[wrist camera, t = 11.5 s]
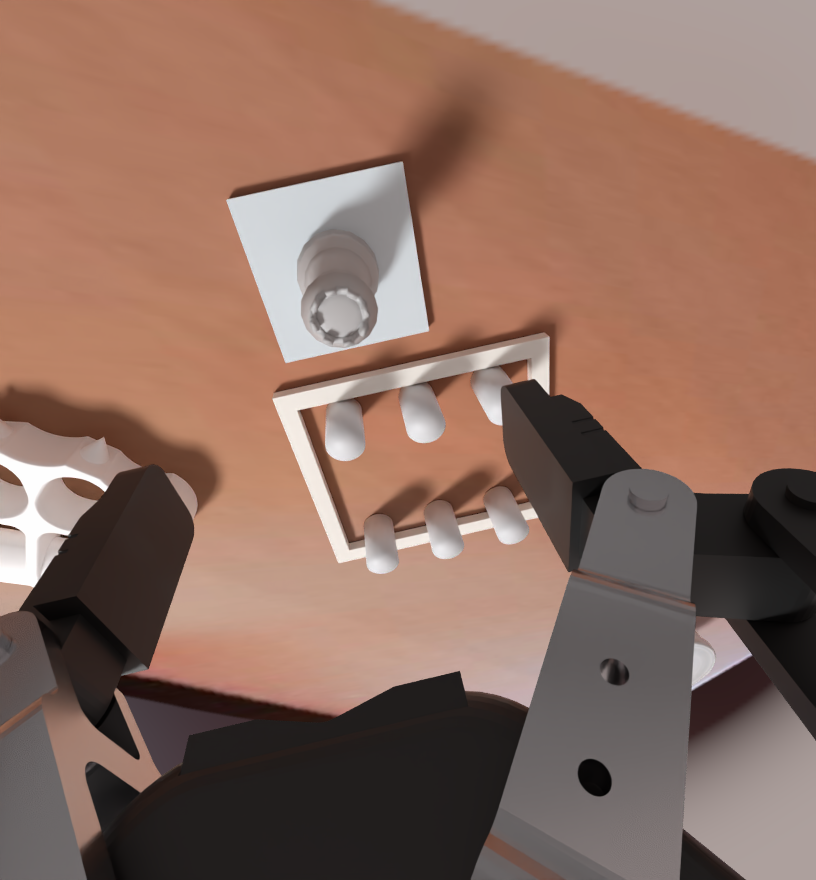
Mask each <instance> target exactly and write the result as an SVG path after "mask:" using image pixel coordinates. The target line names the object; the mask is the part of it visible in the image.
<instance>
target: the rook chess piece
mask: <svg viewBox="0 0 816 880" xmlns="http://www.w3.org/2000/svg"><path fill="white" fill-rule="evenodd" d="M378 280H379V268H378V264H377V261H376V257H375V254H374V252H373V251H372V250H371V248H370V247H369V246H368V244H367V243H366V242H365V240H363V239H362V238H360V237H358V236H357V235H355V234H353V233H352V232H350V231H344V230H337V229H331V230H327V231H324V232H321V233H317V234H316V235H315V236H313V237H312V238H311V239H310V240H309V241H308V242H307V243H305V244H304V246H303V248H302V251H301V253H300V255H299V257H298V259H297V282H298V284H299V287H300V290H301V292H302V295H303V297H302V300H301V317H302V319H303V322H304V324H305V327H306V329H307V330H308V331H309V332H310V334H311V335H312V336H313V337H314V338H315V339H316V340H317V341H319V342H322V343H324V344H326V345H328V346H330V347H339V348H347V347H350V346H354V345H357V344H359V343H360V342H362V341H363V340H364V339H365V338H367V337H368V336H369V335H370V334H371V332H372V330H373V328H374V326H375V325H376V323H377V314H378V306H377V303H376V299H375V294H376V292H377V289H378Z"/></svg>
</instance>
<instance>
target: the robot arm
mask: <svg viewBox="0 0 816 880" xmlns="http://www.w3.org/2000/svg"><path fill="white" fill-rule="evenodd" d="M501 410H502V426H503V441H504V448H505V452H506V456H507V459H508V462H509V464H510V466H511V468H512V470H513V472H514V474H515V476H516V477H517V479H518V481H519V483H520V485H521V487H522V488H523V490H524V492H525V494H526V496H527V498H528V499H529V501H530V503H531V505H532V507H533V509H534V510H535V512H536V514H537V516H538V518H539V520H540V521H541V523H542V525H543V527H544V529H545V531H546V532H547V534H548V536H549V538H550V540H551V541H552V543H553V545H554V547H555V549H556V551H557V552H558V554H559V556H560V558H561V560H562V562H563V563H564V565H565V567H566V569H567V571H568V572H571V571H572V573H571V575H570V578H569V581H568V584H567V587H566V590H565V593H564V597H563V600H562V603H561V606H560V610H559V613H558V616H557V619H556V623H555V626H554V629H553V632H552V636H551V639H550V642H549V645H548V649H547V652H546V655H545V658H544V662H543V665H542V668H541V671H540V675H539V678H538V681H537V684H536V688H535V691H534V694H533V698H532V701H531V704H530V707H529V708H528V707H526V706H524V705H522V704H520V703H518V702H515V701H513V700H510V699H507V698H504V697H501V696H498V695H494V694H489V693H483V692H474V691H465V690H464V686H463V682H462V678H461V674H460V671H458V672H454V673H449V674H445V675H441V676H437V677H433V678H428V679H424V680H420V681H416V682H412V683H407V684H403V685H399V686H395V687H392V688H391V689H389V690H387V691H385V692H383V693H381V694H379V695H377V696H375V697H374V698H372V699H370V700H368V701H366V702H364V703H362V704H360V705H359V706H357V707H355V708H353V709H351V710H349V711H347V712H345V713H343V714H342V715H340V716H338V717H336V718H334V719H332V720H330V721H327V722H323V723H311V722H292V721H274V720H252V721H248V722H244V723H240V724H235V725H231V726H227V727H223V728H219V729H214V730H210V731H206V732H202V733H198V734H193V735H190V736H189V738H188V742H187V747H186V751H185V755H184V759H183V762H182V763H181V764H179V765H177V766H176V767H174V768H173V769H171V770H170V771H168V772H166V773H165V774H163V775H162V776H161V775H160V773H159V772H158V770H157V769H156V767H155V765H154V763H153V761H152V758H151V756H150V754H149V752H148V749H147V747H146V745H145V743H144V740H143V738H142V736H141V734H140V731H139V729H138V727H137V724H136V722H135V720H134V718H133V715H132V713H131V711H130V709H129V706H128V704H127V702H126V700H125V697H124V696H123V694H122V693H121V692H120V691H119V690H117V689H116V687H117V684H118V682H119V679H120V677H121V676H122V675H126V674H130V673H135V672H139V671H143V670H147V669H149V666H150V663H151V660H152V657H153V654H154V651H155V649H156V646H157V643H158V640H159V637H160V634H161V631H162V628H163V625H164V622H165V619H166V616H167V613H168V611H169V608H170V605H171V602H172V599H173V596H174V593H175V590H176V587H177V584H178V581H179V578H180V575H181V573H182V570H183V567H184V564H185V561H186V558H187V555H188V552H189V549H190V546H191V543H192V540H193V537H194V524H193V519H192V516H191V514H190V512H189V510H188V509H187V507H186V505H185V504H184V502H183V501H182V499H181V497H180V496H179V494H178V493H177V491H176V490H175V488H174V486H173V485H172V483H171V482H170V480H169V478H168V477H167V475H166V474H165V472H164V471H163V470H162V469H161V468H160V467H159V466H157V465H149V466H144V467H140V468H135V469H131V470H127V471H122V472H119V473H118V474H116V476H115V477H114V479H113V480H112V482H111V483H110V485H109V487H108V488H107V490H106V491H105V493H104V494H103V496H102V498H101V499H99V500H98V501H97V502H96V503H95V504H94V505H93V506H92V507H91V508H90V509H89V510H87V511H86V512H85V513H84V514H83V515H82V516H81V517H80V518H79V520H78V521H77V523H76V524H75V526H74V527H73V529H72V530H71V532H70V533H69V535H68V537H69V539H66V540H65V541H64V543H63V544H62V546H61V547H60V549H59V550H58V555H56V556H54V558H53V559H52V561H51V562H50V564H49V565H48V567H47V568H46V570H45V571H44V573H43V574H42V576H41V578H40V579H39V581H38V582H37V584H36V585H35V587H34V588H33V590H32V591H31V593H30V594H29V596H28V597H27V599H26V600H25V602H24V603H23V605H22V606H21V608H20V609H19V611H17V612H12V613H8V614H6V615H3V616H0V880H745V879H744V878H743V877H742V876H740V875H739V874H738V873H737V872H736V871H734V870H733V869H732V868H731V867H729V866H728V865H727V864H726V863H725V862H723V861H722V860H721V859H720V858H718V857H717V856H716V855H715V854H714V853H712V852H711V851H710V850H709V849H707V848H706V847H705V846H704V845H702V844H701V843H700V842H699V841H697V840H696V839H695V838H694V837H692V836H691V835H690V834H689V833H688V832H686V831H685V830H684V829H683V816H684V800H685V784H686V768H687V751H688V735H689V720H690V703H691V688H692V672H693V655H694V639H695V623H696V616H703V617H717V618H725V619H726V620H727V621H728V623H729V624H730V625H731V627H732V628H733V629H734V631H735V632H736V633H737V635H738V636H739V638H740V639H741V640H742V642H743V643H744V644H745V646H746V647H747V648H748V650H749V651H750V652H751V654H752V655H753V656H754V658H755V659H756V660H757V662H758V663H759V664H760V666H761V667H762V669H763V670H764V671H765V673H766V674H767V675H768V677H769V678H770V679H771V681H772V682H773V683H774V685H775V686H776V687H777V689H778V690H779V691H780V693H781V694H782V695H783V697H784V698H785V700H786V701H787V702H788V704H789V705H790V706H791V708H792V709H793V710H794V712H795V713H796V714H797V716H798V717H799V718H800V720H801V721H802V722H803V724H804V725H805V727H806V728H807V729H808V731H809V732H810V733H811V735H812V736H813V737H814V739H815V740H816V472H813V471H809V470H802V469H791V468H787V469H774V470H770V471H767V472H764V473H762V474H760V475H759V476H758V477H756V479H755V480H754V481H753V484H752V487H751V490H750V493H749V494H703V493H693V492H692V490H691V489H690V488H689V487H688V486H687V485H686V484H685V483H683V482H682V481H681V480H679V479H677V478H675V477H673V476H671V475H669V474H666V473H663V472H660V471H655V470H649V469H642V468H641V467H640V466H639V465H638V464H637V463H636V462H635V461H634V460H633V459H632V458H631V457H630V455H629V454H628V453H627V452H626V451H625V450H624V449H623V448H622V447H621V446H620V445H619V444H618V443H617V442H616V441H615V439H614V438H613V437H612V436H611V435H610V434H609V433H608V432H607V431H606V430H605V431H604V430H603V427H602V426H601V425H600V424H599V422H598V421H597V420H596V419H593V416H592V415H591V414H590V413H589V412H588V411H587V410H586V409H585V408H584V406H583V405H582V404H581V403H578V402H576V401H574V400H572V399H570V398H568V397H566V396H564V395H557V396H553V397H550V396H549V395H548V393H547V392H546V391H545V390H544V389H543V388H542V386H541V385H540V384H539V383H538V382H537V381H536V380H535V379H531V380H527V381H522V382H518V383H513V384H509V385H505V386H502V387H501Z"/></svg>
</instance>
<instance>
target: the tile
mask: <svg viewBox="0 0 816 880" xmlns="http://www.w3.org/2000/svg"><path fill="white" fill-rule="evenodd" d="M226 201H227V203H228V206H229V209H230V212H231V214H232V217H233V220H234V223H235V225H236V228H237V231H238V234H239V236H240V239H241V242H242V245H243V247H244V250H245V253H246V256H247V258H248V261H249V264H250V267H251V269H252V272H253V275H254V278H255V280H256V283H257V286H258V289H259V291H260V294H261V297H262V300H263V302H264V305H265V308H266V311H267V313H268V316H269V319H270V321H271V324H272V327H273V330H274V332H275V335H276V338H277V341H278V343H279V346H280V349H281V352H282V354H283V357H284V360H285V363H288V362H292V361H297V360H301V359H306V358H310V357H315V356H319V355H324V354H328V353H333V352H337V351H342V350H346V349H351V348H355V347H360V346H364V345H369V344H373V343H378V342H382V341H387V340H391V339H396V338H400V337H405V336H409V335H414V334H418V333H423V332H427V331H429V327H428V320H427V314H426V308H425V301H424V295H423V288H422V282H421V276H420V269H419V263H418V256H417V250H416V243H415V237H414V231H413V224H412V218H411V211H410V205H409V199H408V192H407V186H406V179H405V173H404V166H403V161H400V162H395V163H391V164H386V165H381V166H377V167H372V168H368V169H363V170H358V171H354V172H349V173H345V174H340V175H335V176H331V177H326V178H321V179H317V180H312V181H308V182H303V183H298V184H294V185H289V186H285V187H280V188H275V189H271V190H266V191H262V192H257V193H252V194H248V195H243V196H239V197H234V198H229V199H227V200H226ZM331 229H337V230H344V231H350V232H352V233H353V234H355V235H357V236H358V237H360V238H362V239H363V240H365V242H366V243H367V244H368V246H369V247H370V248H371V250H372V251H373V252H374V254H375V257H376V261H377V264H378V268H379V280H378V289H377V292H376V294H375V299H376V303H377V306H378V314H377V323H376V325H375V326H374V328H373V330H372V332H371V334H370V335H369V336H368V337H367V338H365V339H364V340H363V341H362V342H360V343H359V344H357V345H354V346H350V347H347V348H339V347H330V346H328V345H326V344H324V343H322V342H319V341H317V340H316V339H315V338H314V337H313V336H312V335H311V334H310V332H309V331H308V330H307V329H306V327H305V324H304V322H303V319H302V317H301V300H302V297H303V295H302V292H301V290H300V287H299V284H298V282H297V259H298V257H299V255H300V253H301V251H302V248H303V246H304V244H305V243H307V242H308V241H309V240H310V239H311V238H312V237H313V236H315V235H316V234H317V233H321V232H324V231H327V230H331Z"/></svg>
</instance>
